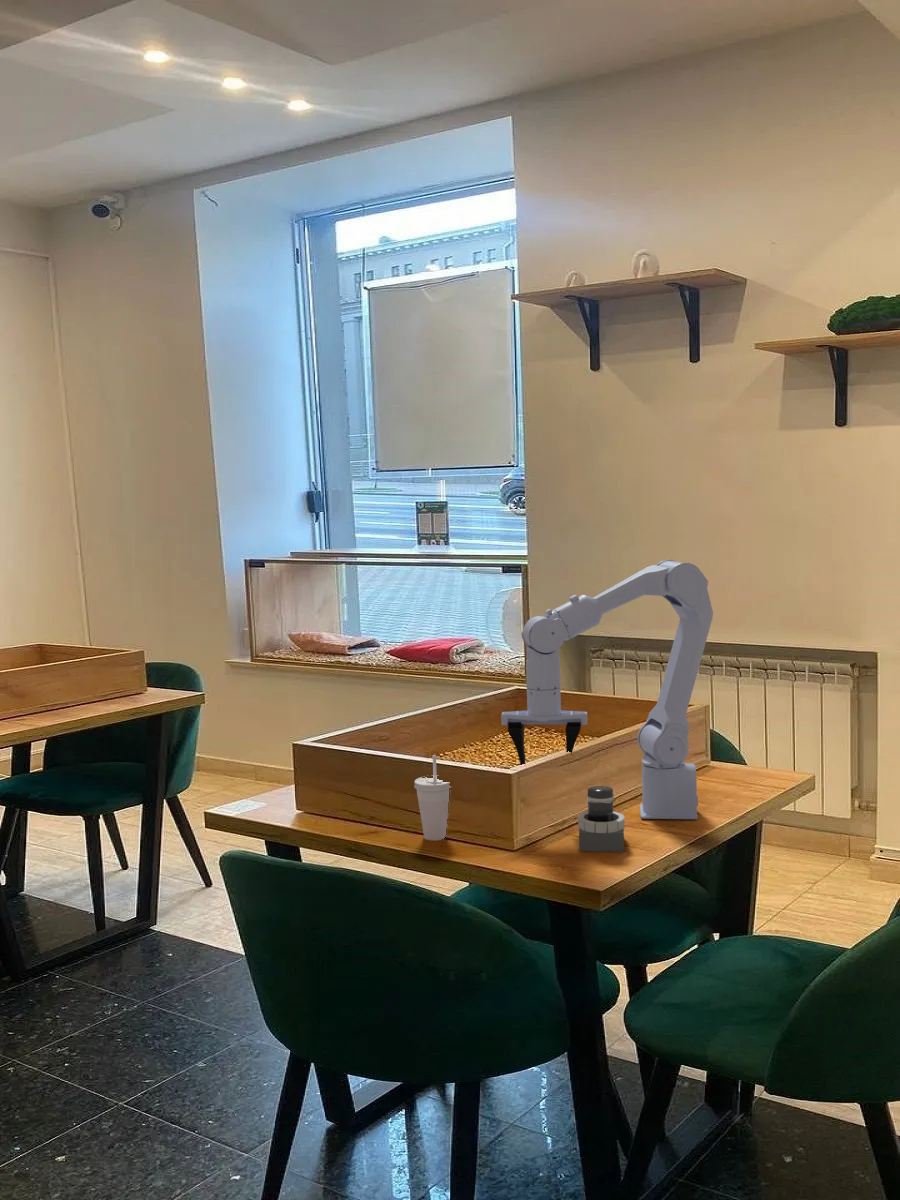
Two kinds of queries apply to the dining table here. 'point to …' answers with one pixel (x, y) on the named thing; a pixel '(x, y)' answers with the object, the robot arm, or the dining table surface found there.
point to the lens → (600, 804)
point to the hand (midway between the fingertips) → (545, 765)
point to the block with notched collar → (601, 834)
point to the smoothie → (433, 805)
